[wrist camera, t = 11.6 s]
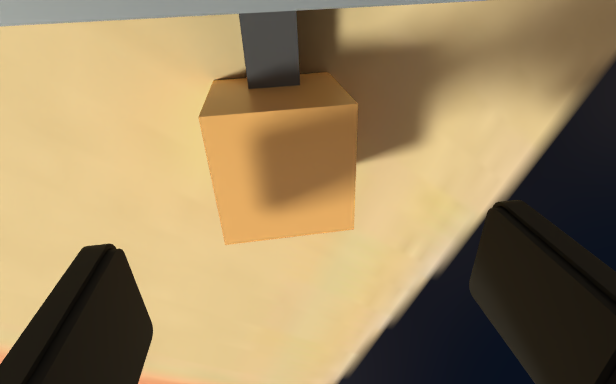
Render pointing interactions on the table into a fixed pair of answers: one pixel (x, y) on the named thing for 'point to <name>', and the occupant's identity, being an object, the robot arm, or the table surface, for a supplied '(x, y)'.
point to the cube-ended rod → (279, 140)
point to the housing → (164, 8)
